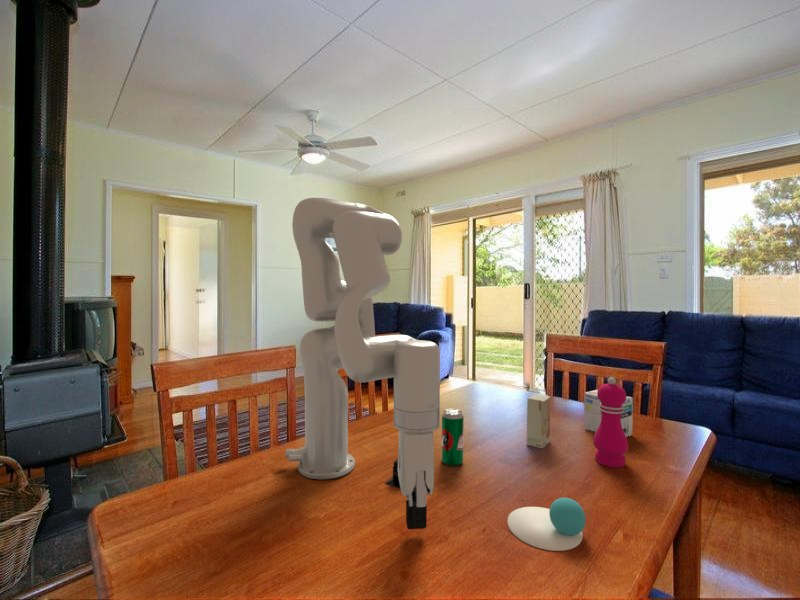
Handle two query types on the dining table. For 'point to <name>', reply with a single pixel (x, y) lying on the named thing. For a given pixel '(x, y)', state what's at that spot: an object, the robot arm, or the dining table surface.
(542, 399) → the skincare box
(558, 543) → the white rounded object
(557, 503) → the ball
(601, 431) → the pepper mill
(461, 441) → the soda can
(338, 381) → the robot arm
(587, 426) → the light bulb box
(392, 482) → the black box
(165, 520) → the dining table surface
